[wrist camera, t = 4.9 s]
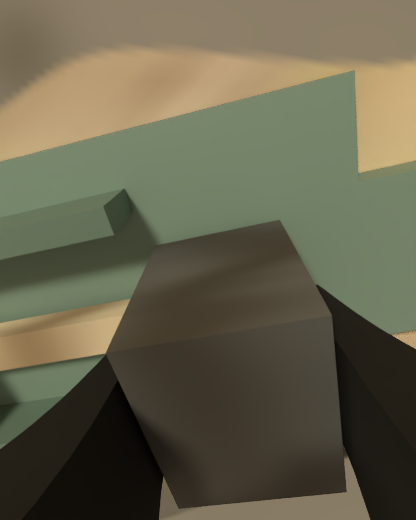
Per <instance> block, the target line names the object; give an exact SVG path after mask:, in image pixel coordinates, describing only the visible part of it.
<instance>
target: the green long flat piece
mask: <svg viewBox="0 0 416 520" xmlns="http://www.w3.org/2000/svg"><path fill="white" fill-rule="evenodd" d="M276 220H280V221H281V223H282V225H283V226H284V228H285V230H286V232H287V234H288V236H289V237H290V239H291V241H292V243H293V245H294V247H295V248H296V250H297V252H298V254H299V256H300V258H301V259H302V261H303V263H304V265H305V267H306V269H307V270H308V272H309V274H310V276H311V278H312V280H313V281H314V283H315V285H319V286H320V287H322V288H323V289H325V290H326V291H327V292H329V293H330V294H331V295H333V296H334V297H335V298H337V299H338V300H339V301H341V302H342V303H343V304H345V305H346V306H348V307H349V308H350V309H352V310H353V311H355V312H356V313H357V314H359V315H360V316H362V317H363V318H365V319H366V320H368V321H369V322H371V323H372V324H374V325H375V326H377V327H379V328H380V329H382V330H383V331H385V332H387V333H388V334H394V333H400V332H407V331H413V330H416V161H413V162H409V163H404V164H400V165H395V166H391V167H386V168H381V169H377V170H372V171H368V172H363V173H359V174H358V156H357V126H356V97H355V70H354V71H350V72H346V73H342V74H338V75H335V76H331V77H327V78H323V79H319V80H315V81H311V82H307V83H304V84H300V85H296V86H292V87H288V88H284V89H280V90H277V91H273V92H269V93H265V94H261V95H257V96H253V97H249V98H246V99H242V100H238V101H234V102H230V103H226V104H222V105H218V106H215V107H211V108H207V109H203V110H199V111H195V112H191V113H188V114H184V115H180V116H176V117H172V118H168V119H164V120H160V121H157V122H153V123H149V124H145V125H141V126H137V127H133V128H129V129H126V130H122V131H118V132H114V133H110V134H106V135H102V136H99V137H95V138H91V139H87V140H83V141H79V142H75V143H71V144H68V145H64V146H60V147H56V148H52V149H48V150H44V151H40V152H37V153H33V154H29V155H25V156H21V157H17V158H13V159H9V160H6V161H2V162H0V323H4V322H9V321H14V320H20V319H25V318H30V317H35V316H41V315H46V314H51V313H57V312H62V311H67V310H73V309H78V308H83V307H89V306H94V305H99V304H105V303H110V302H115V301H121V300H126V299H131V297H132V295H133V293H134V290H135V288H136V286H137V284H138V282H139V280H140V278H141V275H142V273H143V271H144V269H145V267H146V265H147V262H148V260H149V258H150V256H151V254H152V252H153V249H154V247H155V245H160V244H165V243H170V242H175V241H179V240H184V239H189V238H194V237H199V236H203V235H208V234H213V233H218V232H223V231H228V230H232V229H237V228H242V227H247V226H252V225H256V224H261V223H266V222H271V221H276ZM105 355H106V353H105V354H99V355H93V356H87V357H81V358H75V359H69V360H63V361H57V362H51V363H45V364H39V365H33V366H27V367H21V368H15V369H9V370H3V371H0V449H1V448H2V447H4V446H5V445H6V444H7V443H9V442H10V441H11V440H13V439H14V438H15V437H17V436H18V435H19V434H21V433H22V432H23V431H24V430H26V429H27V428H28V427H29V426H31V425H32V424H33V423H34V422H35V421H37V420H38V419H39V418H40V417H41V416H42V415H44V414H45V413H46V412H47V411H48V410H49V409H51V408H52V407H53V406H54V405H55V404H56V403H57V402H58V401H60V400H61V399H62V398H63V397H64V396H65V395H66V394H67V393H68V392H69V391H70V390H71V389H72V388H73V387H74V386H75V385H76V384H77V383H78V382H79V381H80V380H81V379H82V378H83V377H84V376H85V375H86V374H87V373H88V372H89V371H90V370H91V369H92V368H93V367H94V366H95V365H96V364H97V363H98V362H99V361H100V360H101V359H102V358H103V357H104V356H105Z"/></svg>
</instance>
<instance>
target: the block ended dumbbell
mask: <svg viewBox="0 0 416 520" xmlns="http://www.w3.org/2000/svg"><path fill="white" fill-rule="evenodd" d="M105 353H106V355H107V357H108V359H109V361H110V364H111V366H112V368H113V370H114V372H115V374H116V376H117V378H118V381H119V383H120V385H121V387H122V389H123V391H124V393H125V395H126V398H127V400H128V402H129V404H130V406H131V408H132V410H133V412H134V415H135V417H136V419H137V421H138V423H139V425H140V427H141V429H142V432H143V434H144V436H145V438H146V440H147V442H148V444H149V446H150V448H151V451H152V453H153V455H154V457H155V459H156V461H157V463H158V465H159V468H160V470H161V472H162V474H163V476H164V478H165V480H166V482H167V485H168V487H169V489H170V491H171V493H172V495H173V497H174V499H175V502H176V504H177V506H178V508H179V509H180V508H191V507H201V506H209V505H210V506H211V505H221V504H231V503H240V502H250V501H261V500H271V499H281V498H292V497H301V496H312V495H322V494H332V493H342V492H346V480H345V467H344V455H343V443H342V431H341V419H340V407H339V395H338V382H337V370H336V358H335V346H334V334H333V322H332V314H331V313H330V311H329V309H328V307H327V305H326V303H325V302H324V300H323V298H322V296H321V294H320V292H319V291H318V289H317V287H316V285H315V283H314V281H313V280H312V278H311V276H310V274H309V272H308V270H307V269H306V267H305V265H304V263H303V261H302V259H301V258H300V256H299V254H298V252H297V250H296V248H295V247H294V245H293V243H292V241H291V239H290V237H289V236H288V234H287V232H286V230H285V228H284V226H283V225H282V223H281V221H280V220H276V221H271V222H266V223H261V224H256V225H252V226H247V227H242V228H237V229H232V230H228V231H223V232H218V233H213V234H208V235H203V236H199V237H194V238H189V239H184V240H179V241H175V242H170V243H165V244H160V245H155V247H154V249H153V252H152V254H151V256H150V258H149V260H148V262H147V265H146V267H145V269H144V271H143V273H142V275H141V278H140V280H139V282H138V284H137V286H136V288H135V290H134V293H133V295H132V297H131V299H126V300H121V301H115V302H110V303H105V304H99V305H94V306H89V307H83V308H78V309H73V310H67V311H62V312H57V313H51V314H46V315H41V316H35V317H30V318H25V319H20V320H14V321H9V322H4V323H0V371H3V370H9V369H15V368H21V367H27V366H33V365H39V364H45V363H51V362H57V361H63V360H69V359H75V358H81V357H87V356H93V355H99V354H105Z"/></svg>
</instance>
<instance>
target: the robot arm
mask: <svg viewBox="0 0 416 520" xmlns="http://www.w3.org/2000/svg"><path fill="white" fill-rule="evenodd" d="M316 287H317V289H318V291H319V292H320V294H321V296H322V298H323V300H324V302H325V303H326V305H327V307H328V309H329V311H330V313H331V314H332V322H333V334H334V346H335V358H336V370H337V382H338V395H339V407H340V419H341V431H342V443H343V445H344V447H345V450H346V452H347V454H348V457H349V459H350V462H351V465H352V467H353V469H354V472H355V475H356V478H357V481H358V484H359V487H360V490H361V493H362V496H363V499H364V502H365V505H366V508H367V510H368V513H369V517H370V520H416V349H415V348H413V347H411V346H409V345H407V344H405V343H404V342H402V341H400V340H399V339H397V338H395V337H393V336H392V335H390V334H388V333H387V332H385V331H383V330H382V329H380V328H379V327H377V326H375V325H374V324H372V323H371V322H369V321H368V320H366V319H365V318H363V317H362V316H360V315H359V314H357V313H356V312H355V311H353V310H352V309H350V308H349V307H348V306H346V305H345V304H343V303H342V302H341V301H339V300H338V299H337V298H335V297H334V296H333V295H331V294H330V293H329V292H327V291H326V290H325V289H323V288H322V287H320V286H319V285H316ZM162 482H163V474H162V472H161V470H160V468H159V465H158V463H157V461H156V459H155V457H154V455H153V453H152V451H151V448H150V446H149V444H148V442H147V440H146V438H145V436H144V434H143V432H142V429H141V427H140V425H139V423H138V421H137V419H136V417H135V415H134V412H133V410H132V408H131V406H130V404H129V402H128V400H127V398H126V395H125V393H124V391H123V389H122V387H121V385H120V383H119V381H118V378H117V376H116V374H115V372H114V370H113V368H112V366H111V364H110V361H109V359H108V357H107V355H105V356H104V357H103V358H102V359H101V360H100V361H99V362H98V363H97V364H96V365H95V366H94V367H93V368H92V369H91V370H90V371H89V372H88V373H87V374H86V375H85V376H84V377H83V378H82V379H81V380H80V381H79V382H78V383H77V384H76V385H75V386H74V387H73V388H72V389H71V390H70V391H69V392H68V393H67V394H66V395H65V396H64V397H63V398H62V399H61V400H60V401H58V402H57V403H56V404H55V405H54V406H53V407H52V408H51V409H49V410H48V411H47V412H46V413H45V414H44V415H42V416H41V417H40V418H39V419H38V420H37V421H35V422H34V423H33V424H32V425H31V426H29V427H28V428H27V429H26V430H24V431H23V432H22V433H21V434H19V435H18V436H17V437H15V438H14V439H13V440H11V441H10V442H9V443H7V444H6V445H5V446H4V447H2V448H1V449H0V520H159V510H160V498H161V489H162Z"/></svg>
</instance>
